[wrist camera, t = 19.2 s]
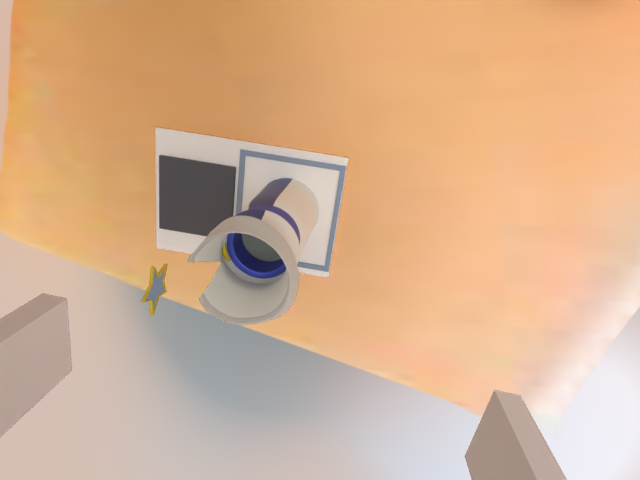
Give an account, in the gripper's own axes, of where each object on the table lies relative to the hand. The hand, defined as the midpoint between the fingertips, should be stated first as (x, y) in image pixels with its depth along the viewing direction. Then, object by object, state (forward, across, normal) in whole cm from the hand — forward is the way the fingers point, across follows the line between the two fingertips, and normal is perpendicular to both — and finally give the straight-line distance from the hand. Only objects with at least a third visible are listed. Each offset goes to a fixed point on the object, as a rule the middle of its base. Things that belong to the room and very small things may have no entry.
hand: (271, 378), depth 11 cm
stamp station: (+34, -10, -6) cm, 36 cm away
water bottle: (+34, -5, -5) cm, 34 cm away
